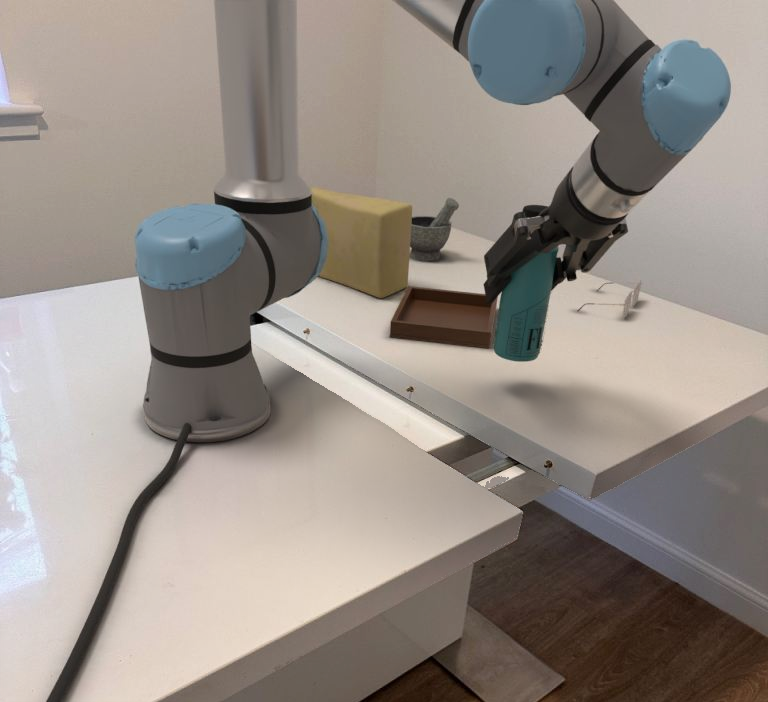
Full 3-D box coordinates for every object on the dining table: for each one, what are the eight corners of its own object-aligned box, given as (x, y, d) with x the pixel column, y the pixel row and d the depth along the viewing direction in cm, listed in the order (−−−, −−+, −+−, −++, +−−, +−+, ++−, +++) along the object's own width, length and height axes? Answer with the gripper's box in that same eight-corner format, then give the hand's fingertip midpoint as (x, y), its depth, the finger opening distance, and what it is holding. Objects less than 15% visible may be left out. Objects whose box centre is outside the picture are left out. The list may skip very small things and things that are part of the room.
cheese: (283, 274, 135) (280, 189, 126) (315, 262, 142) (314, 181, 133) (380, 301, 126) (384, 210, 117) (409, 287, 132) (415, 200, 124)
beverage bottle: (524, 377, 94) (553, 216, 82) (480, 362, 97) (502, 205, 85) (546, 362, 98) (577, 207, 86) (504, 348, 101) (528, 197, 89)
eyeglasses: (621, 321, 122) (625, 298, 120) (575, 315, 126) (578, 293, 124) (639, 299, 133) (643, 277, 130) (596, 294, 136) (599, 272, 134)
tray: (489, 348, 110) (491, 332, 109) (389, 337, 112) (390, 321, 111) (495, 310, 125) (498, 295, 123) (407, 300, 127) (408, 285, 125)
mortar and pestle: (393, 257, 147) (396, 195, 140) (414, 247, 154) (418, 187, 147) (443, 267, 143) (448, 203, 136) (462, 256, 150) (468, 195, 143)
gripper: (521, 223, 70) (448, 322, 92) (691, 220, 75) (583, 315, 97) (508, 154, 71) (439, 268, 93) (677, 155, 76) (573, 264, 98)
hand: (513, 292), depth 95 cm, fingers closed on beverage bottle, 6 cm apart
